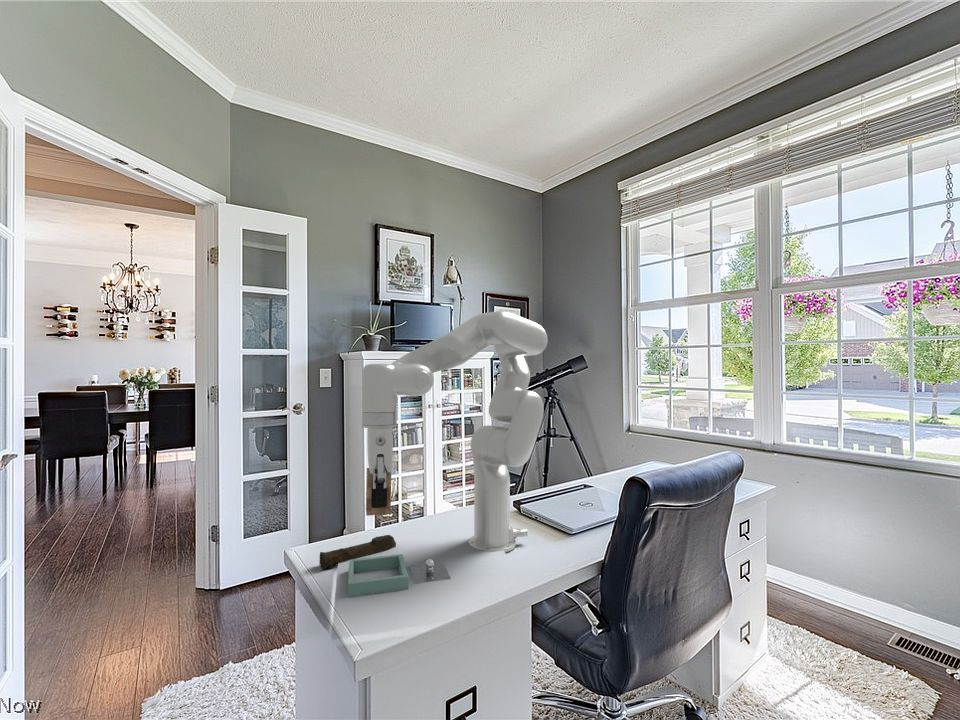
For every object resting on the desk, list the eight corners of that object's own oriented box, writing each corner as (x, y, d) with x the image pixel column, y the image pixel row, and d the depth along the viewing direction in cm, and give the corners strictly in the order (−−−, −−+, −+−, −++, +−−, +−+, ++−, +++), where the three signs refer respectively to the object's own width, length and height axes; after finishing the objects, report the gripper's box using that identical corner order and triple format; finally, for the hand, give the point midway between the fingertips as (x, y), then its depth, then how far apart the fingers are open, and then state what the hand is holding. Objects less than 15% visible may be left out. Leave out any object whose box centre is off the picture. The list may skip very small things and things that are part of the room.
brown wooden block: (388, 507, 101) (389, 467, 101) (390, 514, 96) (391, 471, 96) (365, 508, 100) (366, 467, 100) (366, 515, 95) (367, 472, 95)
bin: (402, 569, 105) (402, 553, 105) (408, 593, 93) (408, 576, 94) (348, 575, 102) (349, 559, 102) (348, 601, 90) (348, 584, 90)
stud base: (443, 567, 106) (443, 550, 106) (450, 583, 98) (450, 564, 98) (409, 571, 103) (409, 554, 104) (414, 588, 96) (414, 569, 96)
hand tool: (322, 573, 104) (322, 553, 104) (318, 566, 107) (318, 547, 107) (399, 555, 114) (399, 537, 114) (393, 550, 117) (393, 532, 117)
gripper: (400, 423, 91) (399, 513, 91) (393, 415, 108) (392, 492, 107) (362, 424, 89) (361, 516, 89) (361, 416, 106) (359, 494, 105)
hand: (378, 502), depth 98 cm, fingers closed on brown wooden block, 5 cm apart
